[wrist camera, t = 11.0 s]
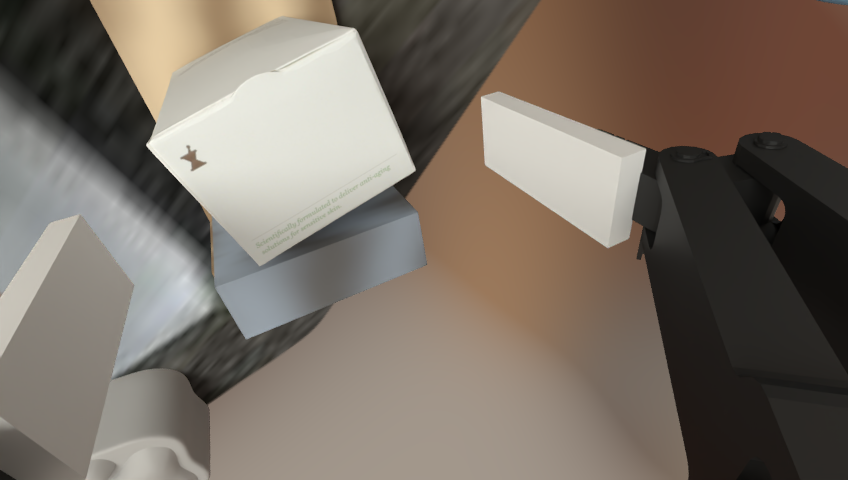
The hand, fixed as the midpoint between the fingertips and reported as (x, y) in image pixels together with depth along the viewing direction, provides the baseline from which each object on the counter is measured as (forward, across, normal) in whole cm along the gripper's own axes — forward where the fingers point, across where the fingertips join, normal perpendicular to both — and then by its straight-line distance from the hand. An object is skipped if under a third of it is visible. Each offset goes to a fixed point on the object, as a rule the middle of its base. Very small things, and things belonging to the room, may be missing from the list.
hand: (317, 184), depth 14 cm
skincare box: (+18, 0, 0) cm, 18 cm away
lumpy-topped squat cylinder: (+19, +22, +25) cm, 38 cm away
